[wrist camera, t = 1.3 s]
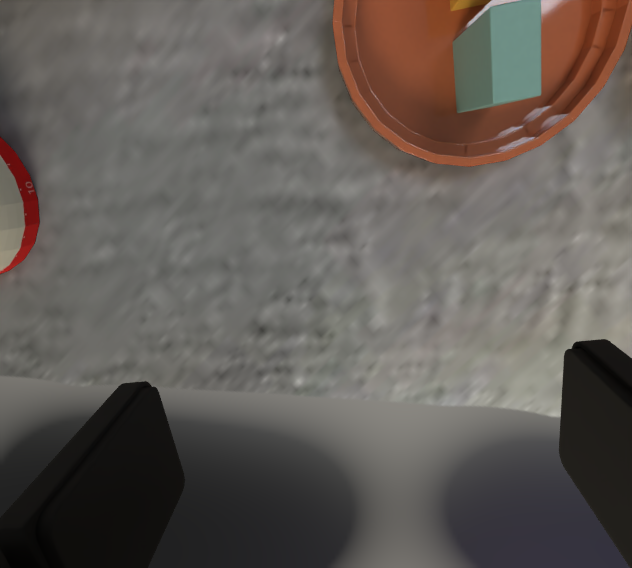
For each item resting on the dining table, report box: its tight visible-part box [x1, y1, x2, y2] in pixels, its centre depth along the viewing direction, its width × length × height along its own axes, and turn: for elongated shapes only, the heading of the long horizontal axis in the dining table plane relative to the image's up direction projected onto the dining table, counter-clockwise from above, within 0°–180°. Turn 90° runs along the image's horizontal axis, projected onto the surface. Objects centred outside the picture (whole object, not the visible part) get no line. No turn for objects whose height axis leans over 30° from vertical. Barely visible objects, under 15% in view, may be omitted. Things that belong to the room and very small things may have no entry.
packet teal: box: [452, 0, 541, 113], centre depth 25 cm, size 5×2×8 cm, turn 10°
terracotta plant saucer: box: [333, 0, 632, 167], centre depth 27 cm, size 18×18×3 cm
